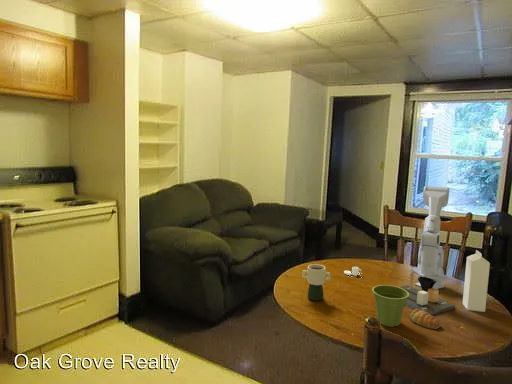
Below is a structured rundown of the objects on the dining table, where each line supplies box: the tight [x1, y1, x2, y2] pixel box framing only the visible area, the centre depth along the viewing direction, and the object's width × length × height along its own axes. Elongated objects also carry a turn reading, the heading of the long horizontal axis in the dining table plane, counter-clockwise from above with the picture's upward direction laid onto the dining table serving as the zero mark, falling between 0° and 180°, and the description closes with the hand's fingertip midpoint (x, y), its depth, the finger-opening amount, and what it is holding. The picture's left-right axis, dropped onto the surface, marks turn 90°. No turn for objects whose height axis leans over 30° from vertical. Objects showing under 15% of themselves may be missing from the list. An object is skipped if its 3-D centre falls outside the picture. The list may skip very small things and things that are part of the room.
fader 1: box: [417, 290, 428, 305], centre depth 136 cm, size 3×2×4 cm
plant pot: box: [372, 284, 409, 328], centre depth 124 cm, size 12×12×11 cm
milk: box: [462, 249, 491, 313], centre depth 136 cm, size 6×6×22 cm
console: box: [399, 284, 456, 316], centre depth 143 cm, size 15×22×1 cm
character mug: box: [301, 263, 331, 301], centre depth 142 cm, size 11×7×13 cm, turn 77°
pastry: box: [409, 309, 442, 330], centre depth 124 cm, size 9×7×4 cm
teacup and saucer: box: [343, 266, 363, 279], centre depth 170 cm, size 9×8×4 cm
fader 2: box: [428, 288, 439, 303], centre depth 139 cm, size 3×2×4 cm
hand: (426, 295), depth 142 cm, fingers closed
